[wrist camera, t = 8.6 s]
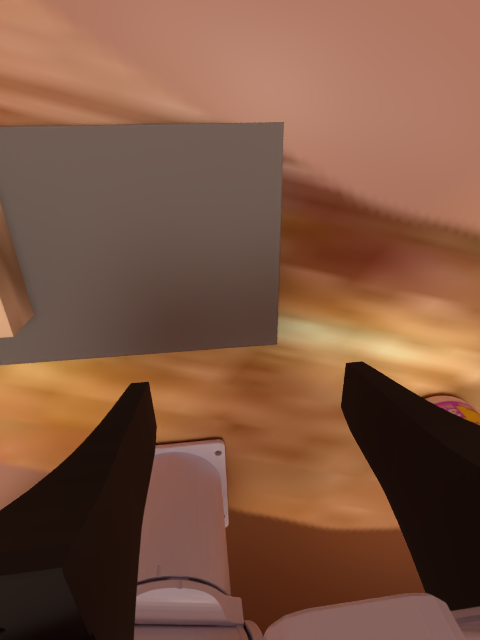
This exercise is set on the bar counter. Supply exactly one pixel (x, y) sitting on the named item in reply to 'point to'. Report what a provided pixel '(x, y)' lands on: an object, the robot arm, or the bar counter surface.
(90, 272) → the mat
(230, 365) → the bar counter surface
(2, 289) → the frame
